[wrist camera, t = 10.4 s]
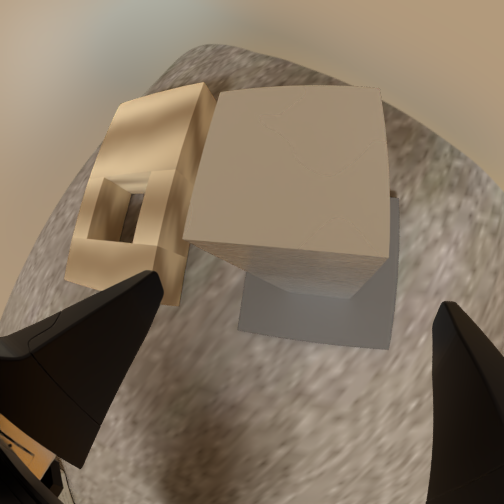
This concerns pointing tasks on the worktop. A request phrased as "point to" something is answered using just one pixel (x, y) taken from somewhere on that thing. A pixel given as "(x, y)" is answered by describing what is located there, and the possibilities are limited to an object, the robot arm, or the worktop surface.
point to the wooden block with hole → (143, 191)
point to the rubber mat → (328, 307)
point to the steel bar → (296, 187)
